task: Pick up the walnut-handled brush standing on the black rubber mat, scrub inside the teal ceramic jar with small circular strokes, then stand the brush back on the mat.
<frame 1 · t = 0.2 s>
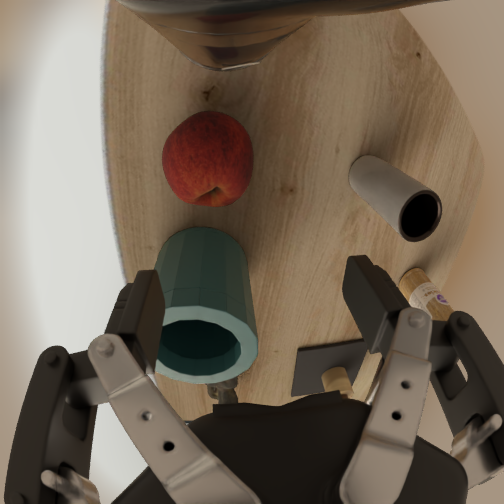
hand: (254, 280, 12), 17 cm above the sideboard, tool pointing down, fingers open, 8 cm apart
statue: (219, 360, 42), on the sideboard
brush: (333, 374, 46), point 1 cm above the sideboard, touching mat
grey hollow cylinder: (366, 174, 28), on the sideboard
mat: (328, 369, 46), on the sideboard
jar: (202, 266, 32), on the sideboard
spice bottle: (410, 279, 37), on the sideboard
apple: (209, 148, 26), on the sideboard
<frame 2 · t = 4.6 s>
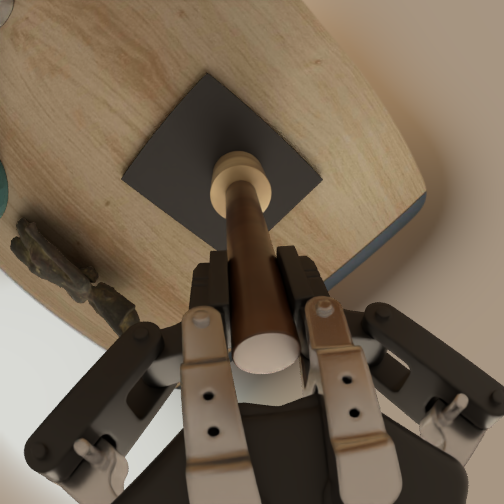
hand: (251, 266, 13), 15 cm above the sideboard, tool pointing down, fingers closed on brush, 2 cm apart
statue: (84, 265, 29), on the sideboard
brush: (237, 175, 25), point 1 cm above the sideboard, touching gripper, mat
grey hollow cylinder: (0, 13, 12), on the sideboard
mat: (221, 174, 25), on the sideboard
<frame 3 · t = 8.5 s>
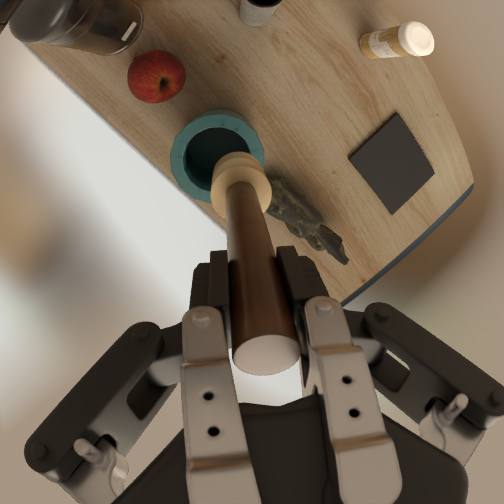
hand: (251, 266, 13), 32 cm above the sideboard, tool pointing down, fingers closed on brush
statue: (300, 213, 47), on the sideboard
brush: (238, 175, 25), point 18 cm above the sideboard, touching gripper
grey hollow cylinder: (255, 14, 30), on the sideboard
mat: (394, 165, 44), on the sideboard
jar: (219, 142, 40), on the sideboard
spice bottle: (370, 46, 33), on the sideboard
apple: (161, 77, 34), on the sideboard
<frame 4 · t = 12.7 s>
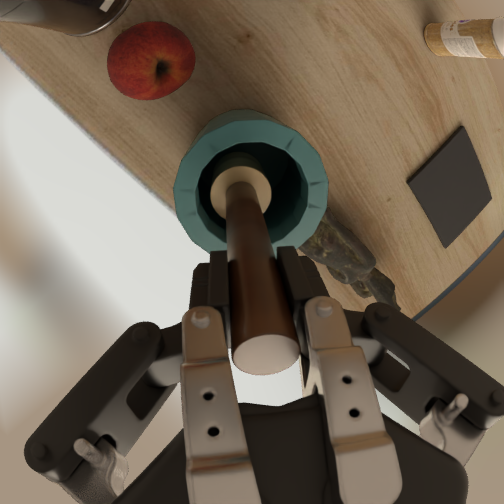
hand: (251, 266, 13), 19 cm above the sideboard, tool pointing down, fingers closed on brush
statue: (344, 250, 36), on the sideboard
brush: (237, 175, 25), point 5 cm above the sideboard, touching gripper
mat: (454, 189, 32), on the sideboard
jar: (242, 157, 29), on the sideboard
spice bottle: (435, 40, 22), on the sideboard
apple: (159, 64, 23), on the sideboard
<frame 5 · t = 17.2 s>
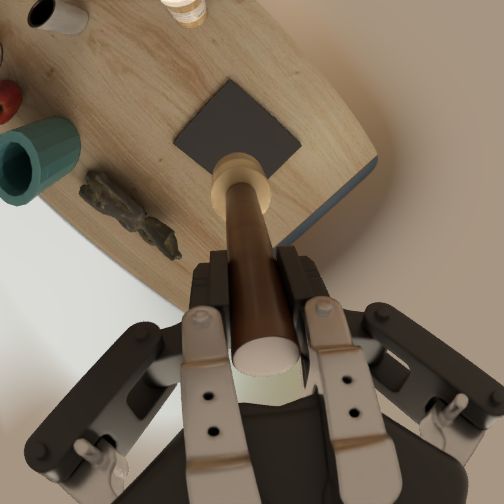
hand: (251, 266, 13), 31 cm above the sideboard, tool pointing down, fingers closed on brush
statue: (136, 206, 43), on the sideboard
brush: (237, 176, 25), point 17 cm above the sideboard, touching gripper
grey hollow cylinder: (76, 22, 26), on the sideboard
mat: (237, 141, 39), on the sideboard
jar: (55, 147, 36), on the sideboard
spice bottle: (191, 15, 29), on the sideboard
apple: (14, 99, 30), on the sideboard
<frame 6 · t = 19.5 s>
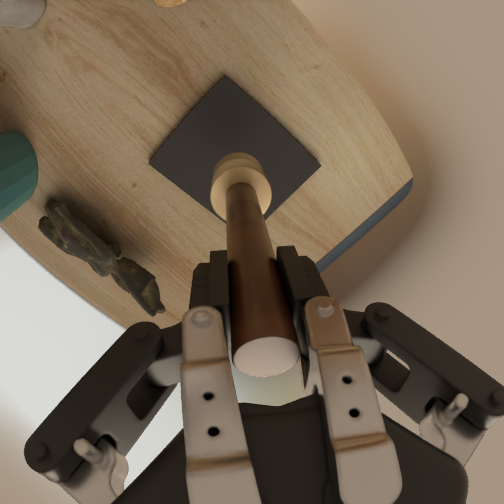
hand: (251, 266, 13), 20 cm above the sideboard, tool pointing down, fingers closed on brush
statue: (108, 242, 33), on the sideboard
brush: (238, 176, 25), point 6 cm above the sideboard, touching gripper
grey hollow cylinder: (32, 12, 16), on the sideboard
mat: (235, 160, 30), on the sideboard
jar: (11, 169, 26), on the sideboard
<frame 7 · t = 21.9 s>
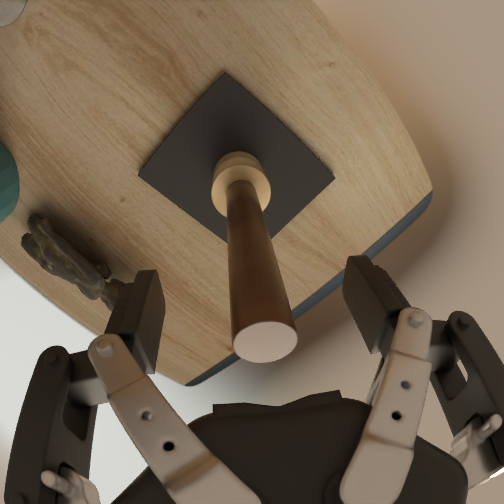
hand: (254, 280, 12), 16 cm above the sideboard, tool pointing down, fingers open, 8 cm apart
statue: (96, 262, 30), on the sideboard
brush: (238, 174, 25), point 1 cm above the sideboard, touching mat
grey hollow cylinder: (13, 8, 12), on the sideboard
mat: (237, 171, 26), on the sideboard
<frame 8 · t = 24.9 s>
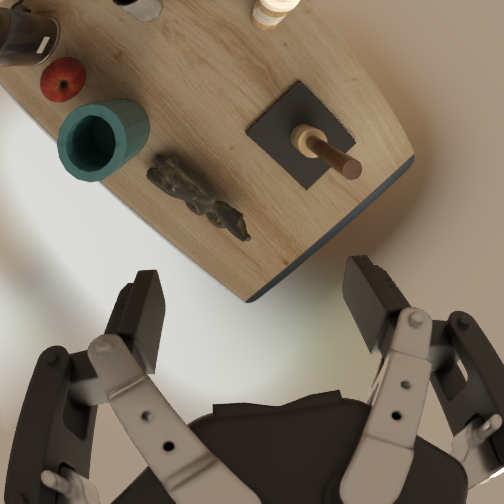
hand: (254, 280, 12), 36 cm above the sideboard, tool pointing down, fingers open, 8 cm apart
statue: (202, 191, 47), on the sideboard
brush: (304, 137, 43), point 1 cm above the sideboard, touching mat
grey hollow cylinder: (148, 9, 30), on the sideboard
mat: (303, 136, 43), on the sideboard
jar: (120, 129, 40), on the sideboard
spice bottle: (265, 18, 33), on the sideboard
apple: (73, 79, 34), on the sideboard
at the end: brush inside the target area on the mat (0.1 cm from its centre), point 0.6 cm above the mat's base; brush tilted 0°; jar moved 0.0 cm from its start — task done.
